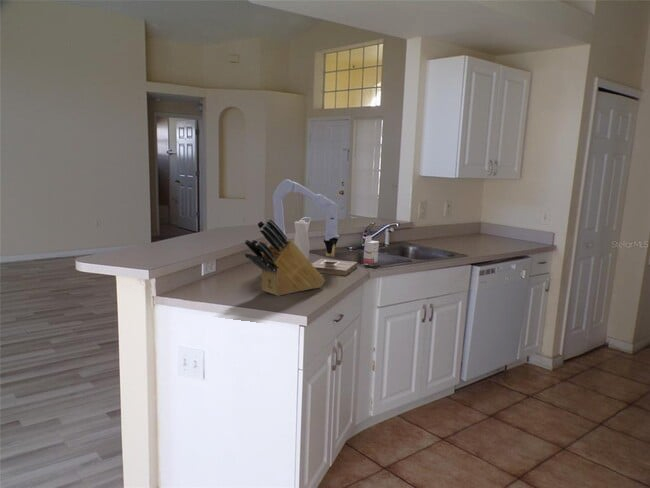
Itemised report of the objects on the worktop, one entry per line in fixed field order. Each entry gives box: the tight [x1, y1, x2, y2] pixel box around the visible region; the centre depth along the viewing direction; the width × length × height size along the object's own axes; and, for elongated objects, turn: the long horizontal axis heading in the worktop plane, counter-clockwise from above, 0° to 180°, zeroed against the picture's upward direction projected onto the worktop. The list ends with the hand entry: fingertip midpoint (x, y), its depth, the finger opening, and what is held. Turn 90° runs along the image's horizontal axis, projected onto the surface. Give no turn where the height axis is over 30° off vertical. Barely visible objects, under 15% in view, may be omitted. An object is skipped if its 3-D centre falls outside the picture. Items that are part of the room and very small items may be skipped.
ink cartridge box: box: [363, 235, 380, 265], centre depth 272 cm, size 9×5×15 cm, turn 149°
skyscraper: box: [293, 216, 312, 260], centre depth 231 cm, size 8×8×28 cm
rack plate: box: [311, 258, 358, 277], centre depth 252 cm, size 22×20×3 cm
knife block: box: [243, 218, 326, 297], centre depth 204 cm, size 11×35×31 cm, turn 133°
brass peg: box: [325, 244, 336, 258], centre depth 253 cm, size 4×4×6 cm
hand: (330, 252), depth 254 cm, fingers closed on brass peg, 4 cm apart
